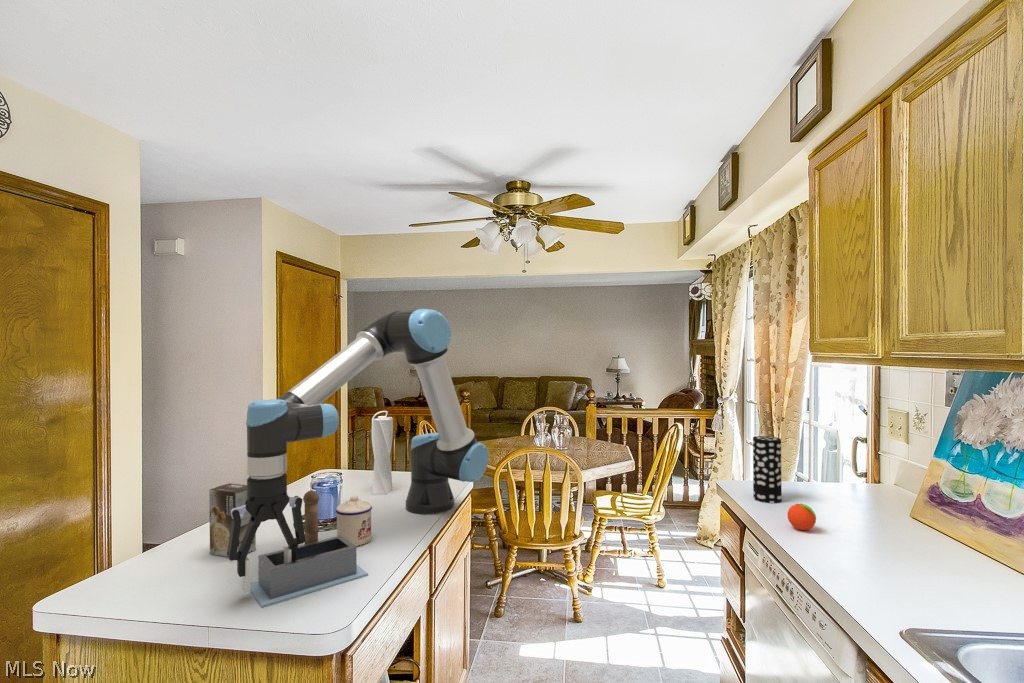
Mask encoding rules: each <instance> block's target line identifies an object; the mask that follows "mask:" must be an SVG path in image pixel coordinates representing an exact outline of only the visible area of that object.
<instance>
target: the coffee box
mask: <svg viewBox="0 0 1024 683" xmlns="http://www.w3.org/2000/svg"><path fill="white" fill-rule="evenodd" d="M208 496H209V500H208V502H209V504H208V505H209V507H208V508H209V509H208V510H209V555H213V554H215V556H219V555H220V556H221V557H226V558H228V556H227V549H228V542H229V536H230V529H231V522H232V518H231V514H230V509H231V508H233V507H234V508H238V507H241V506H243V505H245V502H246V500H247V484H241V483H240V484H239V483H226V484H222V485H220V486H219V485H218V486H216V487H213V488H210V489H209V490H208ZM250 517H251V515H250V513H249V512H248V511H245V512H244V516H243V517H242V518H241V527H240V534H239V541H238V548H237V552H238V550H239V548H240V545H241V543H242V540H243V537H244V535H245V532H246V530H247V527H248V525H249V520H250ZM256 534H257V533H256ZM256 534H255V536H254V539H253V542H252V544H251V547H250V549H249V552H250V553H252V552H254V551H256V549H257V544H256V543H257V542H256V541H257V539H256V538H257V537H256V536H257V535H256ZM251 551H252V552H251ZM249 552H248V554H249Z"/></svg>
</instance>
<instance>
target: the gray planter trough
mask: <svg viewBox="0 0 1024 683" xmlns="http://www.w3.org/2000/svg"><path fill="white" fill-rule="evenodd" d="M257 558H258V560H257V561H258V573H257V574H258V576H257V577H258V581H259V585H260V586H261V588H262V589H263V590H264V592H265V593H266V594H267V596H268V597H269V598H270V600H271V599H274V598H277V597H281V596H284V595H287V594H291V593H294V592H297V591H301V590H304V589H307V588H311V587H314V586H317V585H321V584H324V583H327V582H331V581H334V580H337V579H341V578H344V577H347V576H351V575H354V574H357V565H358V564H357V546H355V545H353V544H352V543H350V542H349V541H348V540H346V539H345V538H344V537H342V536H337V535H336V536H334V537H330V538H325V539H322V540H321V539H320V540H318V541H316V542H312V543H308V544H305V543H303V544H299V545H298V548H297V549H296V561H292V562H288V563H285V564H284V549H280V550H276V551H272V552H268V553H264V554H259V555H258V556H257Z"/></svg>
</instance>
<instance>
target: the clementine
mask: <svg viewBox="0 0 1024 683" xmlns="http://www.w3.org/2000/svg"><path fill="white" fill-rule="evenodd" d="M786 515H787V519H788V520H787V521H788V522H789V524H791V526H792V527H794V528H795V529H797V530H800V531H809V530H810V529H812V528H813V527H814V526H815V524H816V522H817V516H816V513H815V511H814V510H813V509H812V507H810V506H809V505H808V504H804V503H794V504H793V505H791V506H790V507H789V509H788V510H787V514H786Z"/></svg>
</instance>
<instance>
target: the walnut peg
mask: <svg viewBox="0 0 1024 683" xmlns="http://www.w3.org/2000/svg"><path fill="white" fill-rule="evenodd" d="M319 500H320V495H319V493H318V492H317V491H316V490H312V489H311V490H308V491H307V492H305V494H304V495H303V498H302V502H303V504H304V534H305V542H304V544H308V543H312V542H316V541H319Z"/></svg>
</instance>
